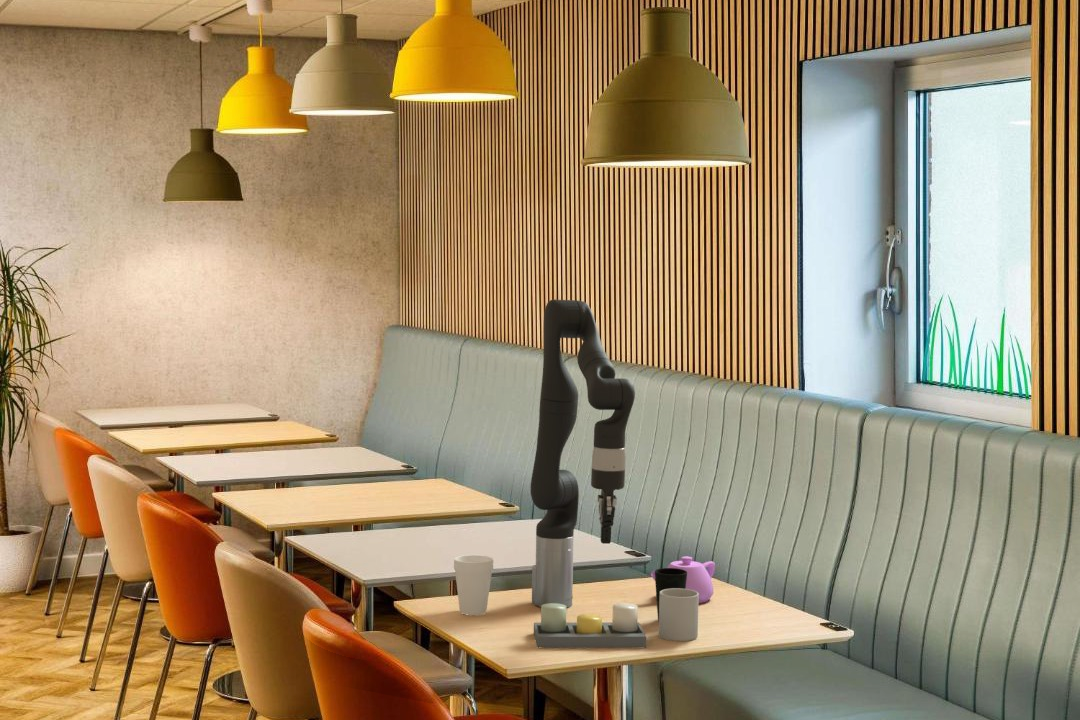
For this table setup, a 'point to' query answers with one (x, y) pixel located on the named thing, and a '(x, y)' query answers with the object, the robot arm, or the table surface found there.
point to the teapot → (696, 576)
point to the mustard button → (589, 624)
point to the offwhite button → (625, 617)
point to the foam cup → (473, 582)
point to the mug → (678, 614)
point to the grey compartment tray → (589, 638)
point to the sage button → (553, 617)
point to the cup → (669, 580)
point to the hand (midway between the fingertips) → (605, 542)
